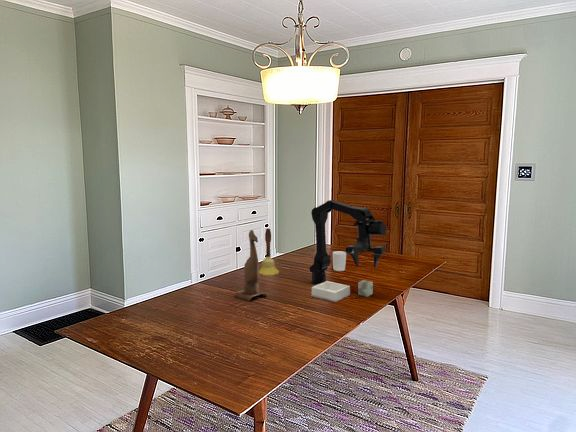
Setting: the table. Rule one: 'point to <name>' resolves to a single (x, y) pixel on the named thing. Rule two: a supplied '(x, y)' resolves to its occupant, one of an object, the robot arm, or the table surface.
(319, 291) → the bin
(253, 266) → the bird sculpture
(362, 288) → the mint block
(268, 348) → the table surface
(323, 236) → the robot arm
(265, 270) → the handbell
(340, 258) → the white cup
